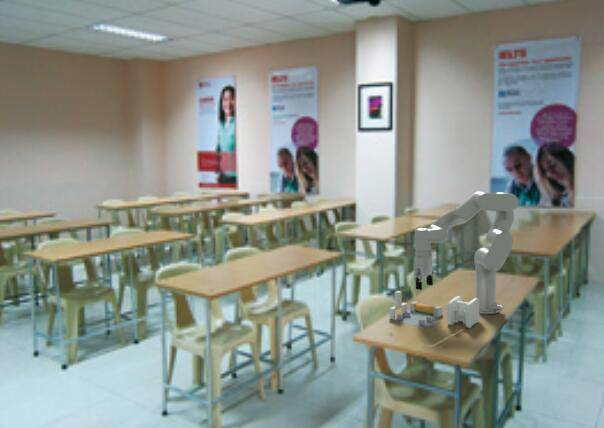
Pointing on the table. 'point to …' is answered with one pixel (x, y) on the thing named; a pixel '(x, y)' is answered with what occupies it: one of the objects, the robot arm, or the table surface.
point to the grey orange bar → (426, 308)
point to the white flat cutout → (398, 304)
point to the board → (415, 320)
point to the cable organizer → (463, 311)
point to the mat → (423, 314)
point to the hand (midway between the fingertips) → (424, 287)
